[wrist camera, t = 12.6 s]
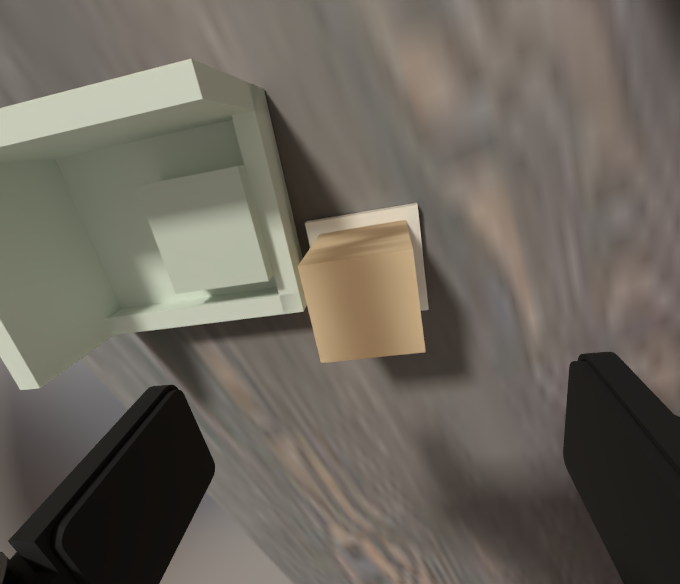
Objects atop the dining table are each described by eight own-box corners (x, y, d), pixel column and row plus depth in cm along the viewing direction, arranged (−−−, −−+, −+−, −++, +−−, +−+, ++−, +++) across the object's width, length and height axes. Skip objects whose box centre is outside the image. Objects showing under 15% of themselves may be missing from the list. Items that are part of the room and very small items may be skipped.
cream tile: (416, 202, 21) (417, 204, 20) (427, 305, 23) (428, 309, 23) (306, 221, 22) (304, 223, 21) (327, 317, 24) (326, 321, 24)
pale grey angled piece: (263, 89, 19) (191, 58, 12) (311, 294, 24) (278, 364, 16) (42, 141, 22) (-130, 142, 14) (122, 319, 26) (20, 390, 19)
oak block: (405, 219, 21) (412, 248, 15) (415, 299, 22) (425, 352, 17) (319, 234, 22) (297, 266, 16) (336, 310, 23) (321, 363, 18)
